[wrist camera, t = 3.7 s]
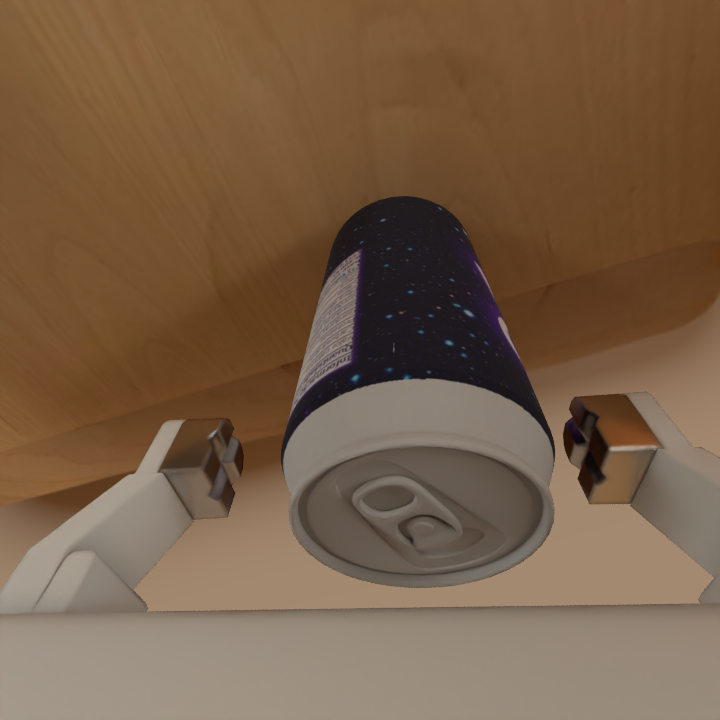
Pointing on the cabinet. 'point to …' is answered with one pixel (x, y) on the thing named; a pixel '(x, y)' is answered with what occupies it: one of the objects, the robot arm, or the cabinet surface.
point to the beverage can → (414, 412)
